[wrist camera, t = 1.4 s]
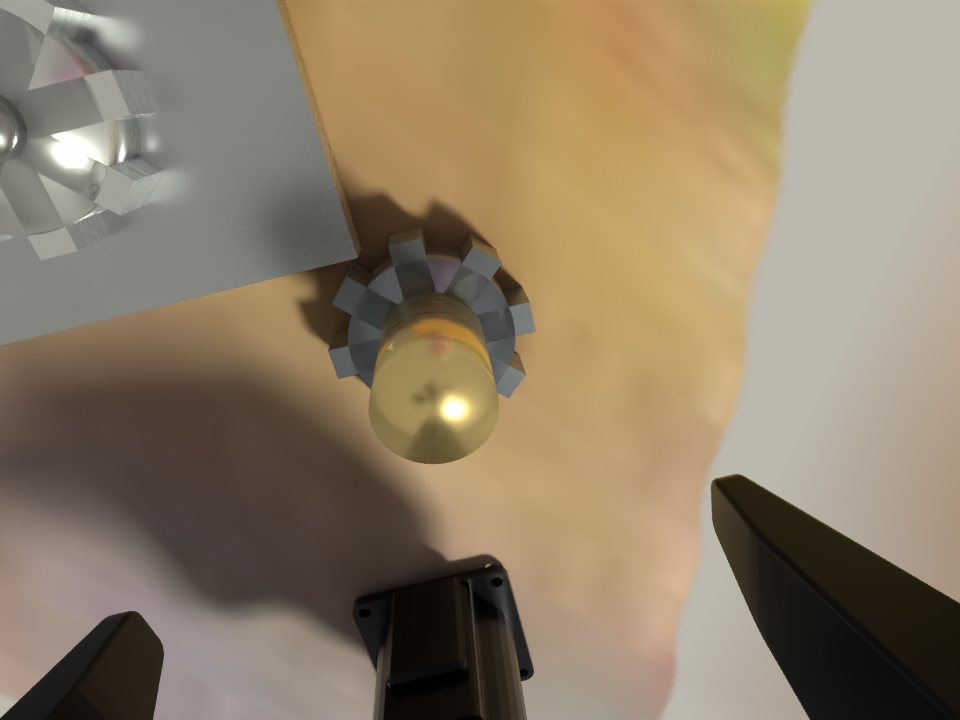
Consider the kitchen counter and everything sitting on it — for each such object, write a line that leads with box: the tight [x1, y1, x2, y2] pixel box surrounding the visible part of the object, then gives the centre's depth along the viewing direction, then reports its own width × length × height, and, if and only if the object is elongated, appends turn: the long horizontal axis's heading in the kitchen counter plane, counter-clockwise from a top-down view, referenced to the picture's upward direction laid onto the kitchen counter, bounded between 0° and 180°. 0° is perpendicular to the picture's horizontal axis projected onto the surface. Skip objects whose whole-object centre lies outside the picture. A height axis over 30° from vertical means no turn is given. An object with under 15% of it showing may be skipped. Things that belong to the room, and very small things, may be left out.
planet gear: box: [328, 227, 535, 464], centre depth 18 cm, size 6×6×6 cm
